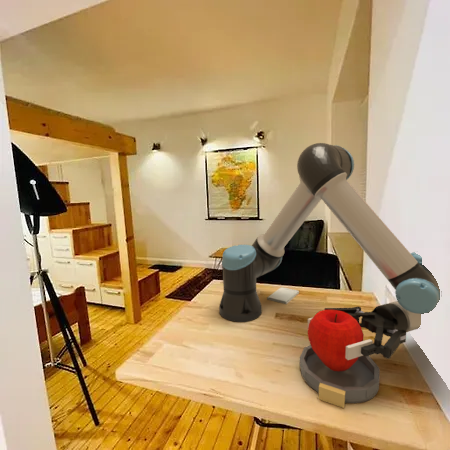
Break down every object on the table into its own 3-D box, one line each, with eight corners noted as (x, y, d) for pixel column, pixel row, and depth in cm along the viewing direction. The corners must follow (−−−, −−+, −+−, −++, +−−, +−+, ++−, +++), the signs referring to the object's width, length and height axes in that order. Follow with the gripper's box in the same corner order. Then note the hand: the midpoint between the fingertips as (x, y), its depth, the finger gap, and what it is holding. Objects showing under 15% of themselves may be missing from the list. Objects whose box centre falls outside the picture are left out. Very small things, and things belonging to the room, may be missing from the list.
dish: (290, 389, 60) (290, 377, 59) (309, 345, 75) (309, 335, 75) (378, 420, 51) (379, 406, 51) (379, 364, 67) (379, 353, 66)
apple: (297, 363, 64) (297, 311, 62) (325, 344, 71) (326, 297, 69) (344, 393, 55) (346, 333, 53) (371, 368, 62) (374, 314, 60)
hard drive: (286, 301, 101) (299, 290, 111) (266, 297, 106) (280, 286, 116) (286, 305, 101) (299, 294, 111) (267, 300, 106) (280, 290, 116)
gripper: (446, 359, 58) (369, 389, 50) (356, 311, 80) (295, 326, 73) (449, 327, 57) (371, 352, 49) (357, 287, 79) (295, 300, 72)
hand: (325, 337), depth 61 cm, fingers closed on apple, 12 cm apart
